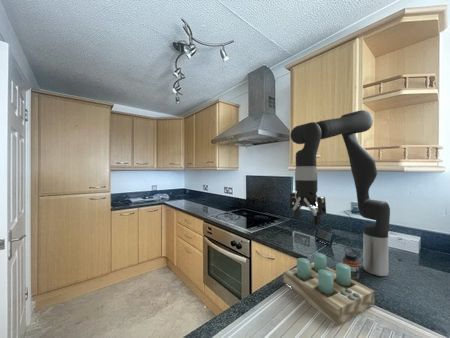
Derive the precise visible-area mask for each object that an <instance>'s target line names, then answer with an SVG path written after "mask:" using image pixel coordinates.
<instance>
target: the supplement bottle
mask: <svg viewBox="0 0 450 338" xmlns="http://www.w3.org/2000/svg"><path fill="white" fill-rule="evenodd" d="M342 263H343V264H346V265H349V266H350V267H351V279H352V280H354V281H356V282H358V283H360V261H359V260H358V259H357V254H355V253H354V252H350V251H347V252H345V255H344V257H342Z"/></svg>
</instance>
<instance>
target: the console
mask: <svg viewBox="0 0 450 338" xmlns="http://www.w3.org/2000/svg"><path fill="white" fill-rule="evenodd" d="M327 270H328V271H331V272H332V273H333V293H331V294H326V293H323V292H321V291H320V290H319V289H318V271H316V270H315V269H314V261H313V262H310V278H308V279H303V278H300V277H298V275H297V267H295V268H291V269H288V270H285V271H283V284H284V283H286V284H288V285H289V286H291V288H292V290H293V291H292V290H291V291H292V292H294V293H295V294H296V295H297V296H299V297H300V298H302V299H303V300H304V301H306V302H307V303H308V304H309V305H311V306H312V307H313V308H315V309H316V310H317V311H318V312H320V313H321V314H322V315H324V316H325V317H326V318H327V319H329V320H330V321H332V322H333V323H334V324H335V325H337V326H340V325H342V324H344V323H346V322H347V321H349V320H351V319H352V318H354V317H356V316H358V315H359V314H361V313H362V312H365V311H366V310H368V309H369V308H368V307H369V306H370V305H373V304H374V305H375V290H373V289H372V288H370V287H367V286H366V285H364V284H362V283H360V282H356V281H354V280H352V279H351V285H349V286H345V285H341V284H339V283H338V282H337V281H336V270H335V269H333V268H330V267H328V266H327ZM374 305H373V306H374ZM367 308H368V309H367Z"/></svg>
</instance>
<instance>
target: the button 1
mask: <svg viewBox="0 0 450 338" xmlns="http://www.w3.org/2000/svg"><path fill="white" fill-rule="evenodd" d="M310 263H311V261H310V260H309V259H307V258H304V257H299V258H297V259H296V268H297V275H298V277H300V278H303V279H308V278H310Z"/></svg>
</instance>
